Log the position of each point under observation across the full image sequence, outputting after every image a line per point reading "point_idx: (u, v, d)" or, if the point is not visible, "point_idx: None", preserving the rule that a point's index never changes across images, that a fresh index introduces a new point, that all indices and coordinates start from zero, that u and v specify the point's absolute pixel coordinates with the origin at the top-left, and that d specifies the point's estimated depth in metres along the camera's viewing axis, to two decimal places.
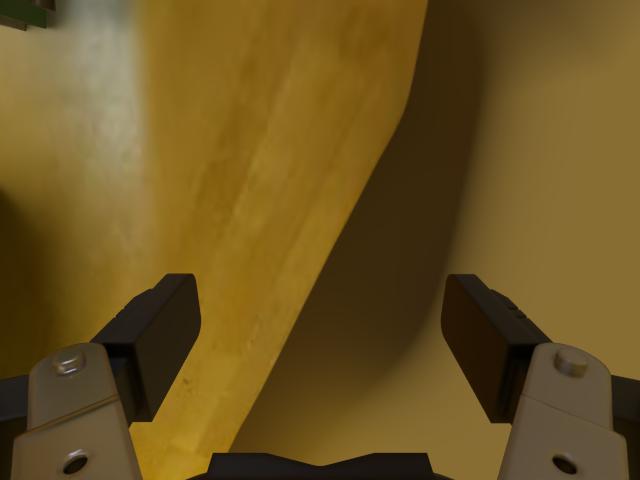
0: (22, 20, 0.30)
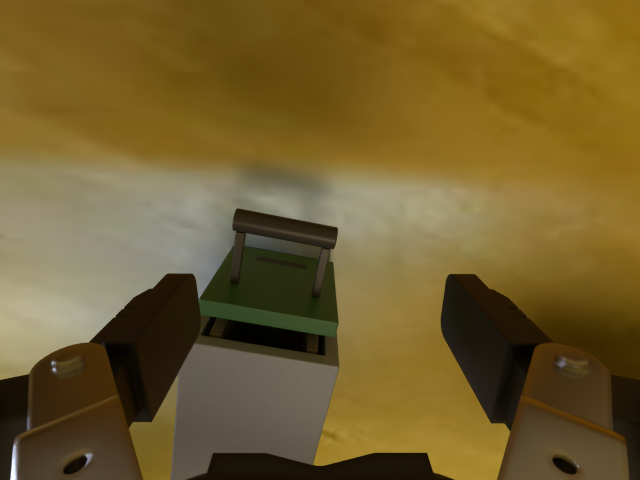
0: (333, 275, 0.30)
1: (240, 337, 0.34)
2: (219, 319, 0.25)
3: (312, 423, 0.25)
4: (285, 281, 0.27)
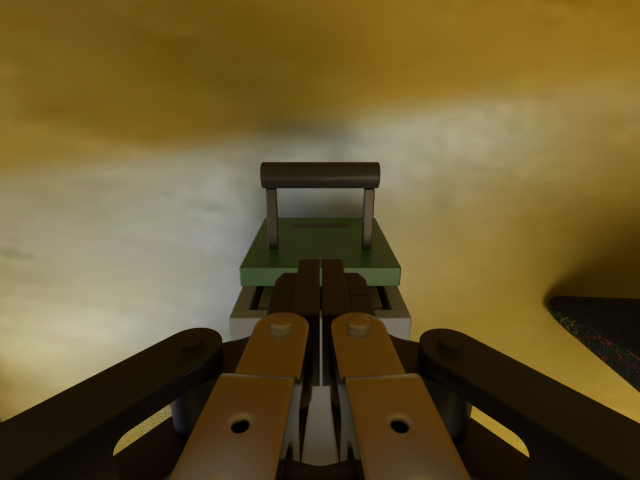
0: (379, 228, 0.26)
1: None
2: (265, 292, 0.22)
3: None
4: (329, 240, 0.24)
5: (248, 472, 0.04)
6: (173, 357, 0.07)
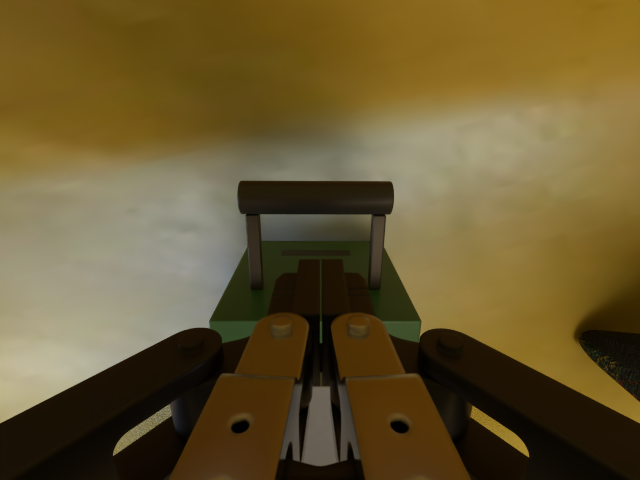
0: (387, 257, 0.22)
1: None
2: None
3: None
4: None
5: (248, 472, 0.04)
6: (173, 356, 0.07)
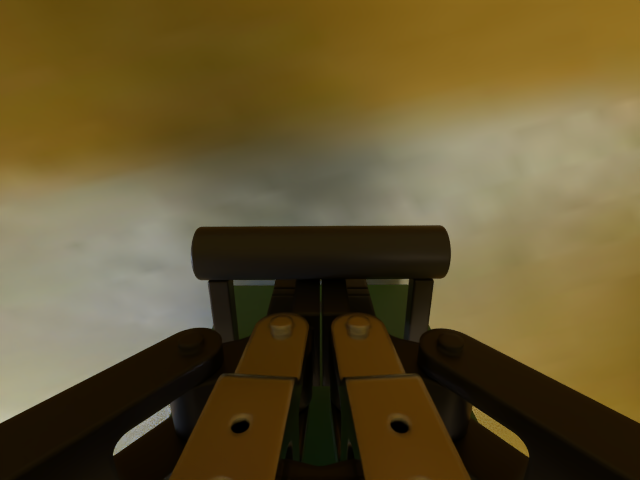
0: None
1: None
2: None
3: None
4: None
5: (248, 472, 0.04)
6: (173, 357, 0.07)
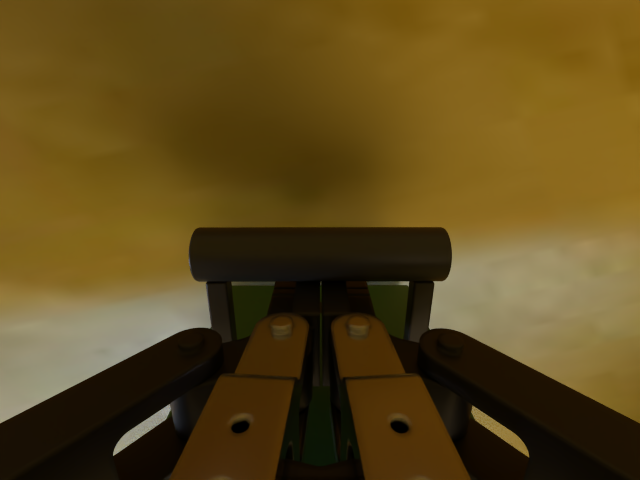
0: None
1: None
2: None
3: None
4: None
5: (248, 472, 0.04)
6: (173, 357, 0.07)
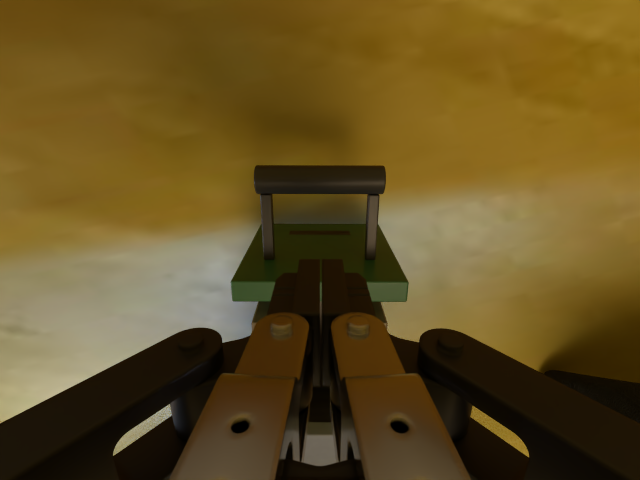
0: (383, 236, 0.25)
1: None
2: (260, 306, 0.21)
3: None
4: (330, 249, 0.22)
5: (248, 472, 0.04)
6: (174, 356, 0.07)
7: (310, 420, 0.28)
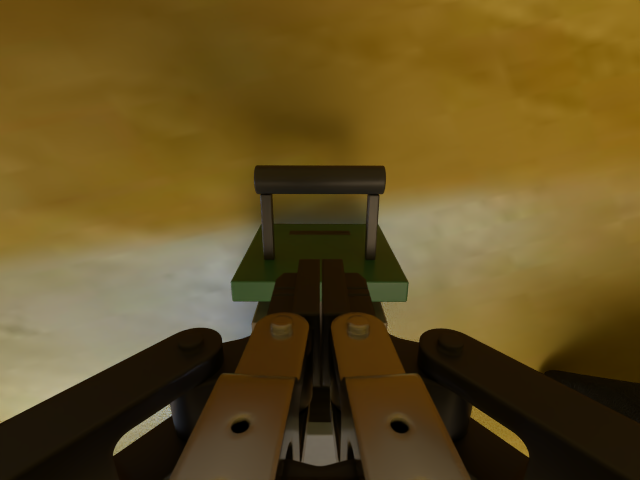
0: (383, 236, 0.25)
1: None
2: (260, 306, 0.21)
3: None
4: (330, 249, 0.22)
5: (248, 472, 0.04)
6: (174, 356, 0.07)
7: (310, 420, 0.28)
